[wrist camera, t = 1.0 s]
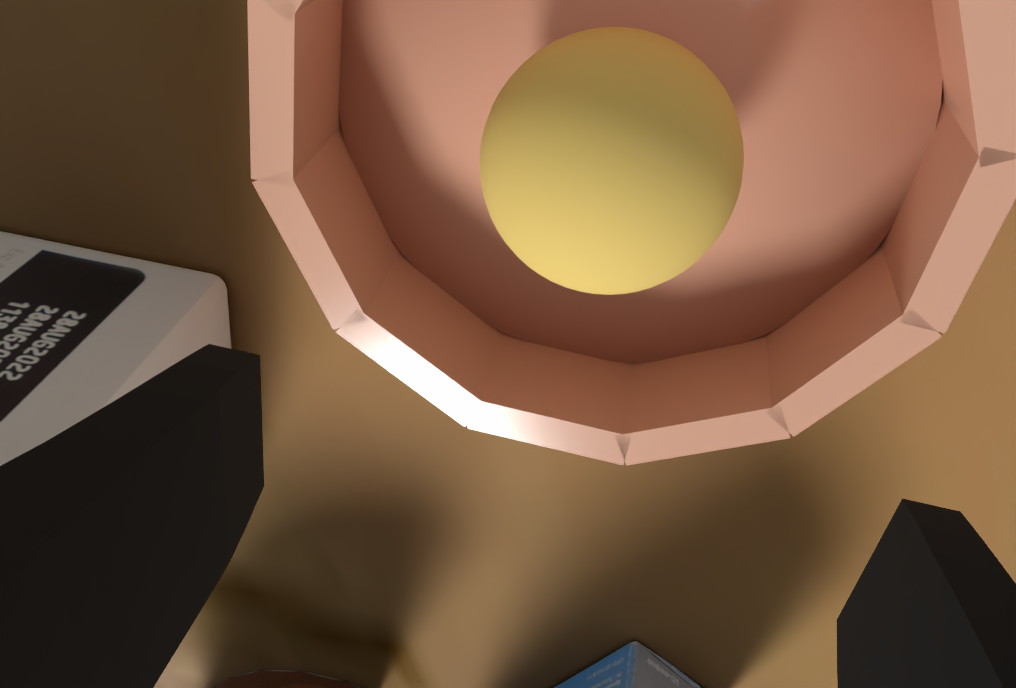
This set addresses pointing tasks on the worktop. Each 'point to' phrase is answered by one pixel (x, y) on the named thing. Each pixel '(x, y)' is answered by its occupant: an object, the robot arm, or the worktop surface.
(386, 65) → the bowl
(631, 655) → the label tape box
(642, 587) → the worktop surface
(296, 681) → the food container
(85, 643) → the robot arm
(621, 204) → the ball
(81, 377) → the container
